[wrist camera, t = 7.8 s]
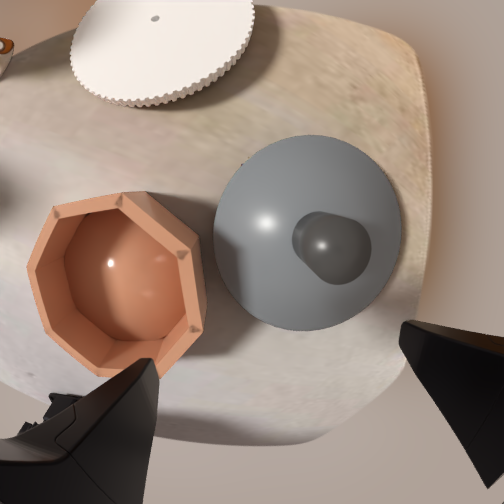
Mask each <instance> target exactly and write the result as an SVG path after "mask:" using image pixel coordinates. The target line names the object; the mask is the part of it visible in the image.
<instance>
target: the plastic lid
mask: <svg viewBox="0 0 504 504" xmlns="http://www.w3.org/2000/svg"><path fill="white" fill-rule="evenodd" d="M252 4H253V1H252V0H97V1H96V2H95V4H94V5H92V6H91V7H90V8H91V9H90V10H89V11H87V12H86V15H85V16H83V18H82V22H80V23H79V27H78V28H76V33H75V34H74V35H73V37H74V39H73V40H72V42H71V43H73V44H72V45H71V47H70V49H72V51H71V52H70V55H71V57H70V60H71V61H72V62H71V66H72V67H73V68H72V71H73V72H75V73H74V76H76V77H77V80H78V81H79V82H80V84H81V85H82V86H84V88H85V89H87V90H88V91H89V92H91V93H92V94H94V95H95V96H97V97H98V98H101V99H102V100H104V101H107V102H109V103H111V104H112V103H114V104H115V105H119V104H121V105H122V106H125V107H126V106H127V105H129V106H130V107H134V106H135V105H137V106H138V107H142V106H143V105H146V106H147V107H150V106H151V104H154V105H155V106H157V105H159V104H160V103H162V102H163V103H164V104H166V103H168V101H170V100H172V101H173V102H174V101H176V100H177V98H180V97H181V98H185V97H186V95H187V94H190V95H192V94H194V91H196V90H198V91H200V90H202V87H204V86H206V87H207V86H209V85H210V82H212V81H214V82H215V81H217V77H219V76H221V77H222V76H223V75H224V72H225V71H229V70H230V67H231V65H235V64H236V59H240V57H241V53H244V51H245V47H247V46H248V41H250V37H251V34H252V29H253V24H254V18H255V16H254V14H255V11H254V5H252Z"/></svg>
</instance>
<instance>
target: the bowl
mask: <svg viewBox="0 0 504 504" xmlns="http://www.w3.org/2000/svg"><path fill="white" fill-rule="evenodd" d="M91 212H92V213H91ZM89 213H91V214H89ZM27 272H28V276H29V280H30V284H31V288H32V291H33V295H34V299H35V302H36V305H37V309H38V312H39V315H40V318H41V321H42V324H43V327H44V329H45V332H46V334H47V335H48V336H49V337H50V338H52V339H53V340H54V341H55V342H56V343H57V344H58V345H59V346H61V347H62V348H63V349H64V350H65V351H66V352H68V353H69V354H70V355H71V356H72V357H74V358H75V359H76V360H77V361H78V362H80V363H81V364H82V365H83V366H85V367H86V368H87V369H89V370H90V371H91V372H93V373H94V374H95V375H97V376H99V377H114V376H115V375H117V374H118V373H120V372H121V371H123V370H124V369H125V368H127V367H128V366H130V365H131V364H133V363H134V362H135V361H137V360H138V359H140V358H152V359H153V360H154V363H155V366H156V370H157V373H158V376H159V379H161V378H162V377H163V375H164V374H165V373H166V372H167V371H168V370H169V369H170V368H171V367H172V366H173V365H174V363H175V362H176V361H177V360H178V359H179V358H180V357H181V356H182V355H183V354H184V352H185V351H186V350H187V349H188V348H189V347H190V346H191V345H192V344H193V343H194V341H195V340H196V339H197V338H198V337H199V336H200V335H201V334H202V333H203V330H204V323H205V316H206V310H207V303H208V302H207V295H206V288H205V281H204V273H203V265H202V257H201V249H200V240H199V235H198V234H196V233H195V232H194V231H193V230H191V229H190V228H189V227H188V226H186V225H185V224H184V223H183V222H182V221H180V220H179V219H178V218H177V217H175V216H174V215H173V214H172V213H171V212H169V211H168V210H167V209H166V208H165V207H163V206H162V205H161V204H160V203H159V202H157V201H156V200H155V199H154V198H152V197H151V196H150V195H149V194H148V193H146V192H145V191H139V192H122V193H117V194H111V195H106V196H101V197H95V198H90V199H85V200H80V201H76V202H71V203H67V204H62V205H58V206H53V208H52V210H51V212H50V214H49V216H48V218H47V220H46V222H45V224H44V226H43V228H42V231H41V233H40V235H39V237H38V240H37V242H36V244H35V247H34V249H33V251H32V254H31V256H30V259H29V262H28V264H27Z"/></svg>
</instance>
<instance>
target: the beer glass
mask: <svg viewBox="0 0 504 504" xmlns="http://www.w3.org/2000/svg"><path fill="white" fill-rule="evenodd" d="M13 51H14V43H13V41H12V40H10V39H6V38H2V37H0V77H1V75H2V74H3V72H4V71H5V69H6V68H7V66H8V64H9V62H10V60H11V57H12V55H13Z"/></svg>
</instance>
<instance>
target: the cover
mask: <svg viewBox="0 0 504 504" xmlns="http://www.w3.org/2000/svg"><path fill="white" fill-rule="evenodd" d="M401 230H402V228H401V215H400V210H399V205H398V202H397V198H396V195H395V193H394V190H393V188H392V186H391V184H390V182H389V180H388V179H387V177H386V176H385V174H384V172H383V171H382V170H381V169H380V167H379V166H378V165H377V164H376V163H375V162H374V161H373V160H372V159H371V158H370V157H369V156H368V155H366V154H365V153H364V152H362V151H361V150H359V149H358V148H356V147H354V146H352V145H351V144H349V143H347V142H344V141H341V140H338V139H335V138H331V137H326V136H319V135H304V136H295V137H291V138H287V139H283V140H280V141H278V142H275V143H273V144H270V145H269V146H267V147H265V148H263V149H262V150H260V151H258V152H257V153H256V154H254V155H253V156H252V157H251V158H249V159H248V160H247V161H246V162H245V163H244V164H243V165H242V166H241V167H240V168H239V169H238V170H237V172H236V173H235V174H234V176H233V177H232V179H231V180H230V181H229V183H228V185H227V187H226V189H225V190H224V192H223V194H222V196H221V199H220V202H219V205H218V208H217V211H216V216H215V221H214V231H213V244H214V254H215V258H216V263H217V267H218V269H219V272H220V275H221V278H222V280H223V281H224V283H225V285H226V287H227V289H228V290H229V292H230V293H231V295H232V296H233V297H234V299H235V300H236V301H237V302H238V303H239V304H240V305H241V306H242V307H243V308H244V309H245V310H246V311H248V312H249V313H250V314H251V315H253V316H254V317H256V318H258V319H259V320H261V321H263V322H265V323H267V324H270V325H272V326H275V327H278V328H282V329H286V330H293V331H313V330H321V329H325V328H328V327H332V326H335V325H337V324H340V323H342V322H344V321H346V320H348V319H350V318H352V317H353V316H355V315H356V314H358V313H359V312H361V311H362V310H363V309H364V308H365V307H367V306H368V305H369V304H370V303H371V302H372V301H373V300H374V299H375V298H376V296H377V295H378V294H379V293H380V292H381V290H382V289H383V287H384V286H385V284H386V283H387V281H388V279H389V277H390V275H391V274H392V271H393V269H394V266H395V264H396V261H397V257H398V254H399V249H400V243H401Z"/></svg>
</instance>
